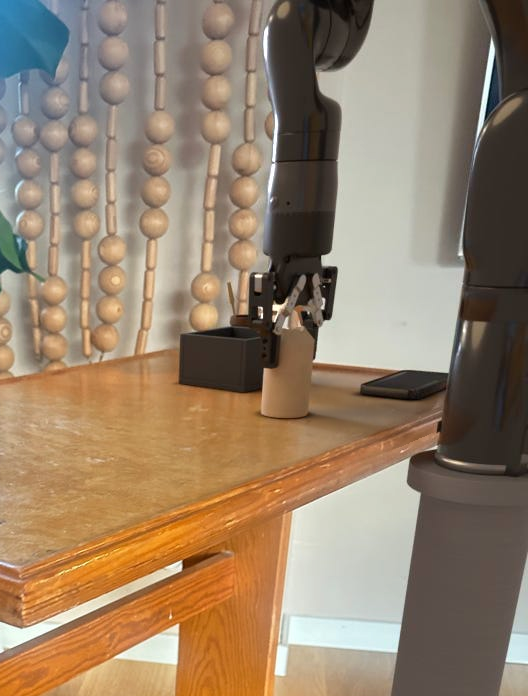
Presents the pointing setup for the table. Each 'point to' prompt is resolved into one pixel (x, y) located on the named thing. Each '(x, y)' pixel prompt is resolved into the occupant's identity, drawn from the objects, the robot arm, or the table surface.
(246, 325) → the utensil holder
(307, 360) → the candle
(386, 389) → the phone
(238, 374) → the bin
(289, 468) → the table surface
